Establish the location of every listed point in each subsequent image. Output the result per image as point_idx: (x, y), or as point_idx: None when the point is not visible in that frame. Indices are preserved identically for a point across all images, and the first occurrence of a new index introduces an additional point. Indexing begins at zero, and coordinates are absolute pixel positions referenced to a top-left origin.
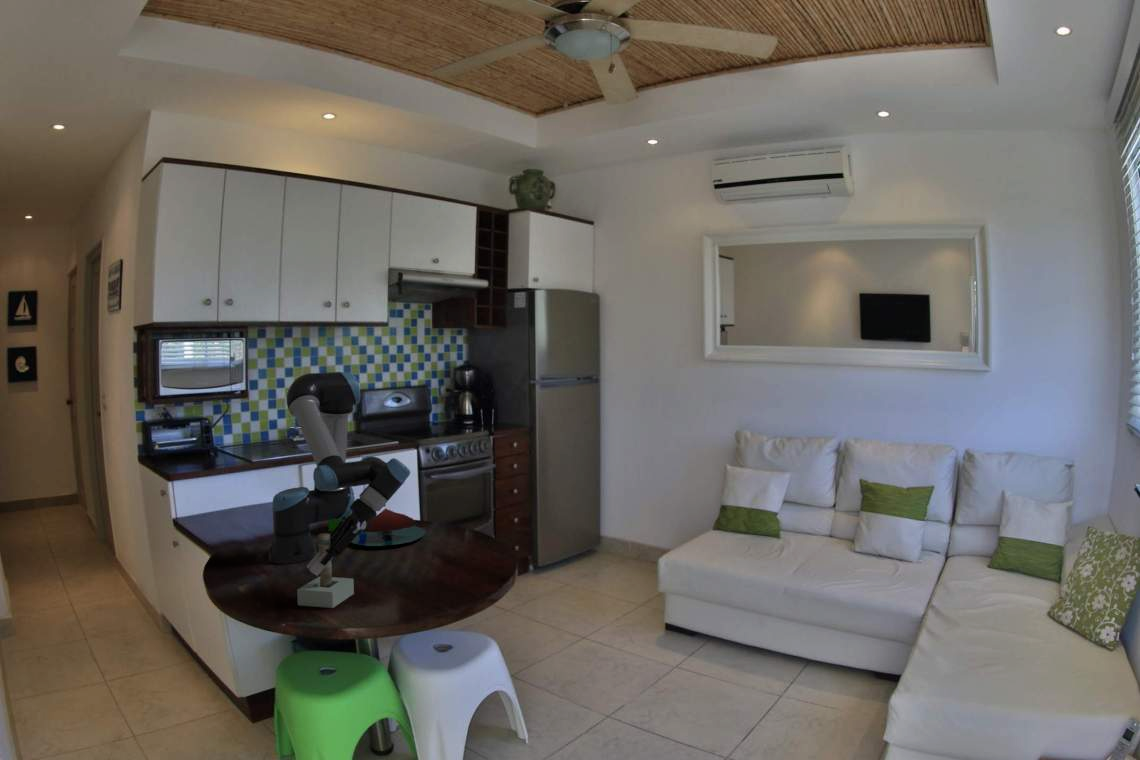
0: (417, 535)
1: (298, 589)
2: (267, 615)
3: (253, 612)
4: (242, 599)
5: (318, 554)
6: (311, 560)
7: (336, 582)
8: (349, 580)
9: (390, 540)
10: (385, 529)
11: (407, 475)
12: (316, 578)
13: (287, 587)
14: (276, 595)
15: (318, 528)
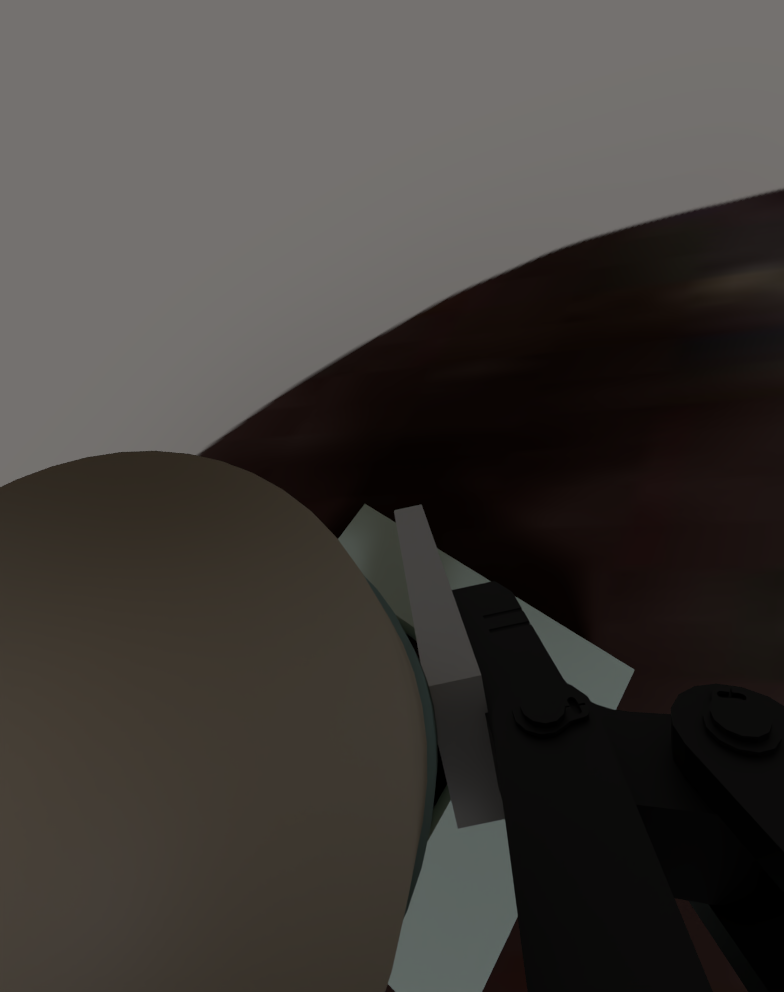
0: None
1: (362, 511)
2: (307, 417)
3: (375, 362)
4: (572, 303)
5: (414, 613)
6: (429, 538)
7: (438, 821)
8: (407, 984)
9: None
10: None
11: None
12: (577, 638)
13: (724, 474)
14: (587, 429)
15: None
